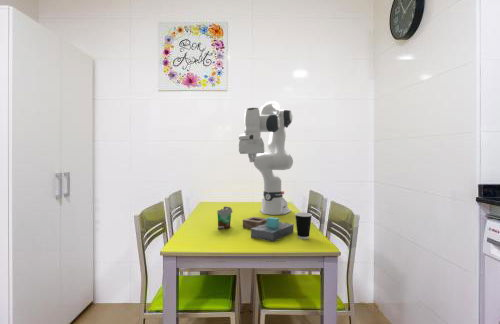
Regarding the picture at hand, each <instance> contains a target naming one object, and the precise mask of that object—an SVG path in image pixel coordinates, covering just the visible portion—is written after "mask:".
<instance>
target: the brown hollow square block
mask: <svg viewBox="0 0 500 324" xmlns="http://www.w3.org/2000/svg"><path fill="white" fill-rule="evenodd" d="M266 223H267V217H266V218H265V217H264V218H263V217H258V216H250V217H248V218H245V219H242V228H243V229H249V230H251V229H252V228H255V227H257V226H260V225H263V224H266Z"/></svg>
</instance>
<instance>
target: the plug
mask: <svg viewBox="0 0 500 324" xmlns="http://www.w3.org/2000/svg"><path fill="white" fill-rule="evenodd" d="M266 219H267V227H272V228H278V227H279V222H280V218H278V217H271V216H269V217H266Z"/></svg>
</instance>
